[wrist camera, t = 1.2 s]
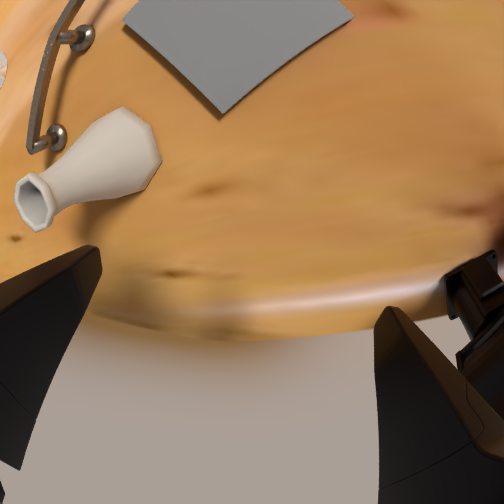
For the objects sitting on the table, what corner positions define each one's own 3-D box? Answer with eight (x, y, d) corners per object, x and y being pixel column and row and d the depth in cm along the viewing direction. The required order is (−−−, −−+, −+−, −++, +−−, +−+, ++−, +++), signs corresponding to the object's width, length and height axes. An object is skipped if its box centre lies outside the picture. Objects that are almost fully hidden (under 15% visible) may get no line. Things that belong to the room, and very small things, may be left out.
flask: (119, 210, 22) (46, 280, 14) (73, 146, 19) (-15, 192, 11) (179, 163, 20) (104, 225, 11) (127, 89, 17) (25, 107, 8)
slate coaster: (351, 19, 13) (354, 16, 12) (225, 112, 17) (222, 113, 17) (239, -71, 9) (237, -75, 8) (126, 21, 14) (121, 20, 13)
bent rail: (184, -72, 9) (166, -92, 6) (63, 153, 20) (35, 167, 17) (149, -76, 8) (127, -93, 5) (39, 138, 19) (11, 150, 16)
